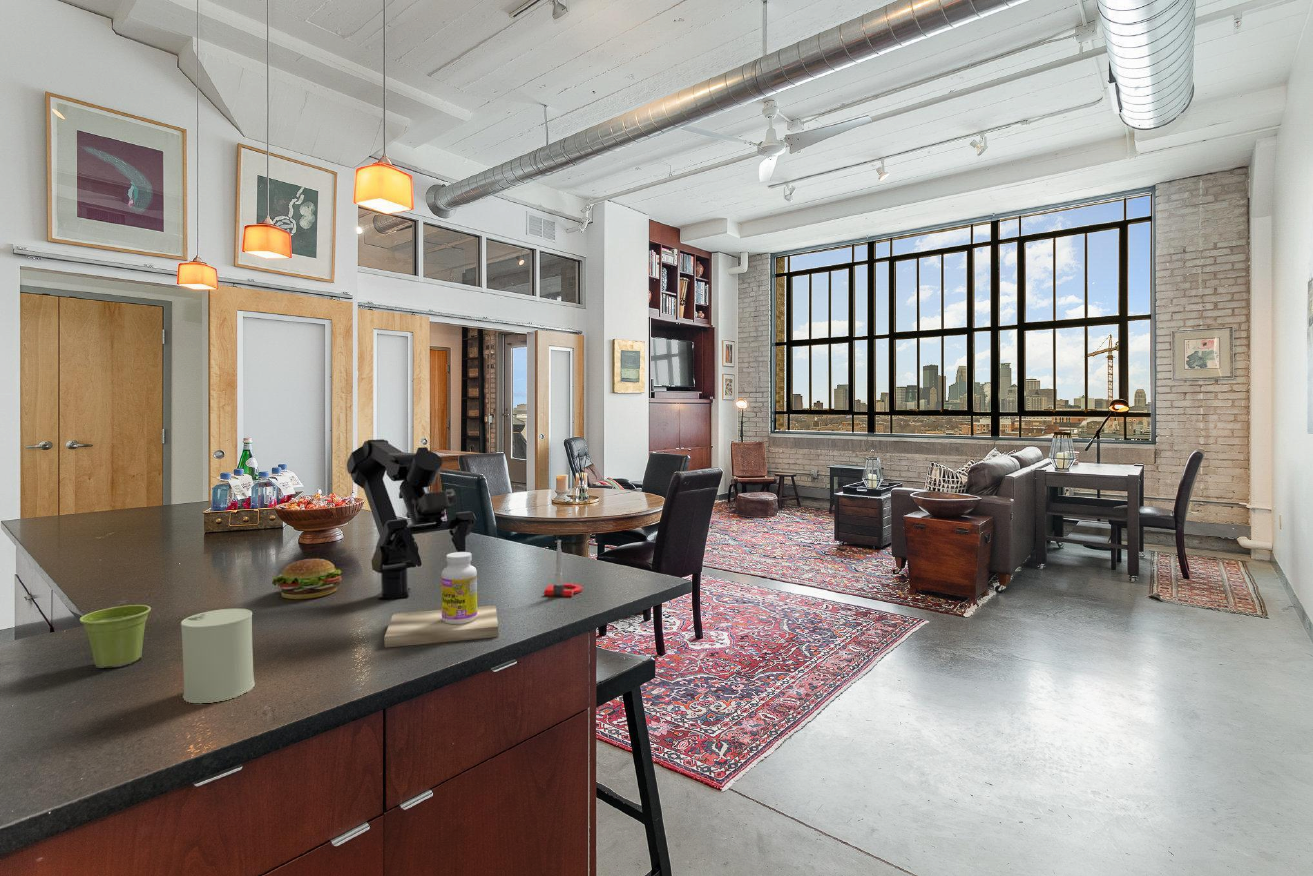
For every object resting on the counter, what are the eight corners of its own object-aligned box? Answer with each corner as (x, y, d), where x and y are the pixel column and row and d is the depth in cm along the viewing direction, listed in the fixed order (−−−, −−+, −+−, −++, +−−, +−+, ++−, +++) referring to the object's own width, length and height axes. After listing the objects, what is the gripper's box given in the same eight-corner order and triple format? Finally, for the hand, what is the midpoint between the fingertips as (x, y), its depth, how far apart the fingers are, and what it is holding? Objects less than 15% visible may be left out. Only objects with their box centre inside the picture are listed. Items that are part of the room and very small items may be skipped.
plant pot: (95, 678, 107) (92, 625, 107) (72, 666, 112) (70, 615, 112) (162, 659, 115) (160, 610, 115) (138, 649, 120) (136, 602, 120)
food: (310, 583, 166) (309, 551, 166) (353, 588, 161) (352, 555, 161) (259, 598, 153) (258, 564, 153) (305, 604, 148) (303, 568, 148)
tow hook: (552, 587, 162) (539, 596, 153) (552, 534, 162) (540, 540, 153) (585, 589, 161) (575, 598, 152) (586, 535, 161) (575, 541, 152)
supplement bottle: (434, 623, 127) (433, 557, 127) (453, 613, 134) (452, 550, 133) (466, 626, 126) (465, 559, 125) (483, 615, 132) (482, 551, 132)
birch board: (393, 623, 134) (393, 613, 134) (495, 614, 139) (495, 605, 139) (384, 647, 121) (384, 636, 120) (498, 636, 126) (498, 626, 126)
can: (205, 680, 106) (203, 606, 106) (266, 678, 107) (264, 604, 107) (168, 706, 97) (165, 624, 97) (235, 703, 98) (232, 622, 97)
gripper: (384, 480, 132) (407, 544, 124) (471, 473, 144) (497, 531, 136) (370, 515, 138) (392, 578, 130) (456, 506, 150) (480, 563, 143)
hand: (442, 561), depth 135 cm, fingers open, 9 cm apart
